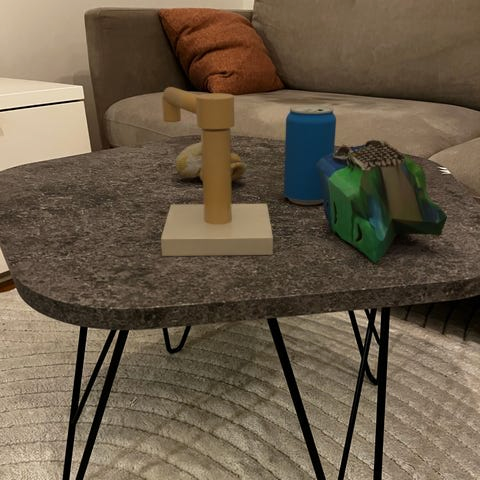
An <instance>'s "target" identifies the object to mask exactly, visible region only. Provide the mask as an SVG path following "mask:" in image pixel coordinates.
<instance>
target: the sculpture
mask: <svg viewBox="0 0 480 480" xmlns="http://www.w3.org/2000/svg"><path fill="white" fill-rule="evenodd" d="M384 141H385V140H383V139H381V140H379V139H378V140H375V139H371V140H368V141H366V142H365V143H364V144H362V145H356V146H353V145H351V146H348V145H346V144H345V143H344V144H342V145H339V147H338V149H337V150H336V151H334V153H332V154H330V155H328V156H325V157H323V158H321V159H320V160H319V162H318V163H317V169H318V173H319V177H320V182H321V188H322V195H323V201H324V202H323V210H324V214H325V218H326V221H327V222H328V224H329V227H330V230H331V231H332V232H333V234H337V235H338V236H339V237H340V239H342V240H343V241H345V242H347V243H349V244H350V245H351V246H352V247H354V248H356V249H357V251H358V252H360V253H362V254H364V256H365V258H366V259H367V260H369V261H371V262H372V263H374V264H376V263H377V262H378V261H379V260H380V259H381V258H383V257H384V256H385V254H386V253H387V251H388V250H389V248H390V246H391V245H392V243H393V241H394V240H395V238H396V237H397V235H398V234H404V235H408V234H409V235H431V236H437V237H440V236H441V235H443V234H442V233H443V229H444V227H445V224H446V222H447V220H448V216H447V214H446V212H445V211H444V210H443V208H441V206H440V205H439V204H437V203H435V201H433V200H431V198H430V195H429V194H428V190H427V179H426V173H425V170H424V168H423V167H420V166H418V165H417V163H415V161H414V160H413V159H410V158H409V157H407V156H406V155H405V154H403V152H401V151H400V150H398V149H397V148H395V147H394V146H392V145H391V144H390V143H389V142H387V141H386V142H384Z"/></svg>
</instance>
